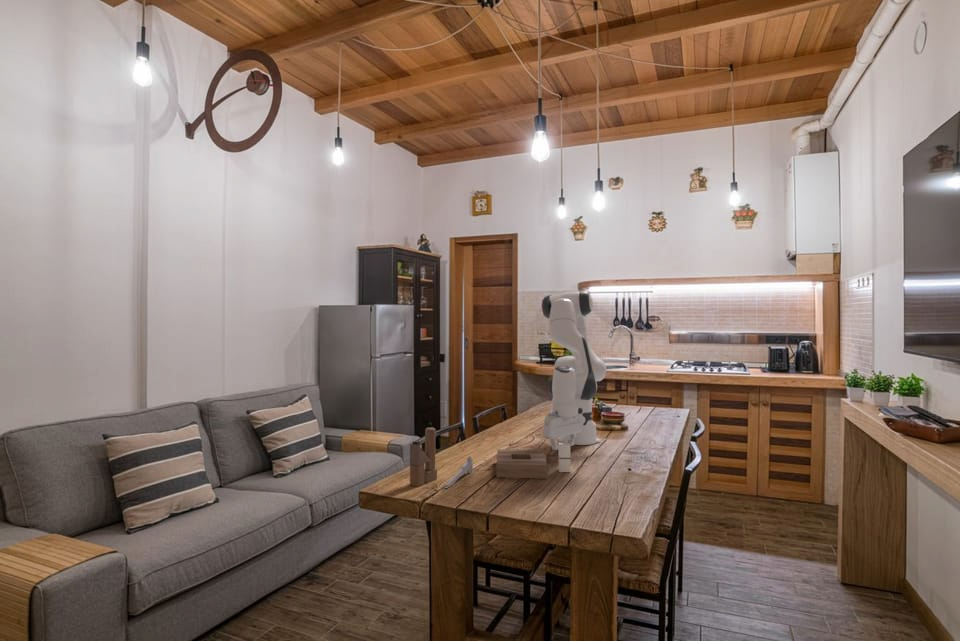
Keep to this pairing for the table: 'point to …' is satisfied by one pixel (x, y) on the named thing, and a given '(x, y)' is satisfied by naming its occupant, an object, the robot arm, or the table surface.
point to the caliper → (461, 472)
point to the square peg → (564, 457)
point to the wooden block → (423, 460)
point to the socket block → (521, 464)
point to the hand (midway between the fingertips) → (563, 447)
